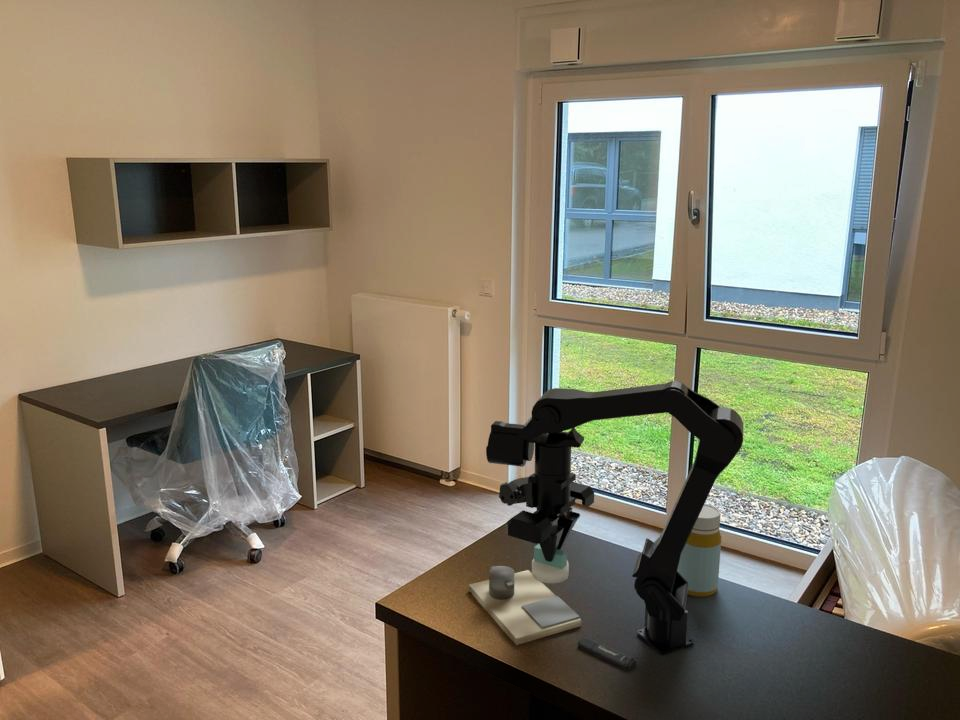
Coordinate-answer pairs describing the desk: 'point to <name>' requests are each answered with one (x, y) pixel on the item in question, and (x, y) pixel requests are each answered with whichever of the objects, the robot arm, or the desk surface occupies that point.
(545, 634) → the board
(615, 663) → the usb stick
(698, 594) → the bottle
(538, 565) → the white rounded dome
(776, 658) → the desk surface
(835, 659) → the desk surface
